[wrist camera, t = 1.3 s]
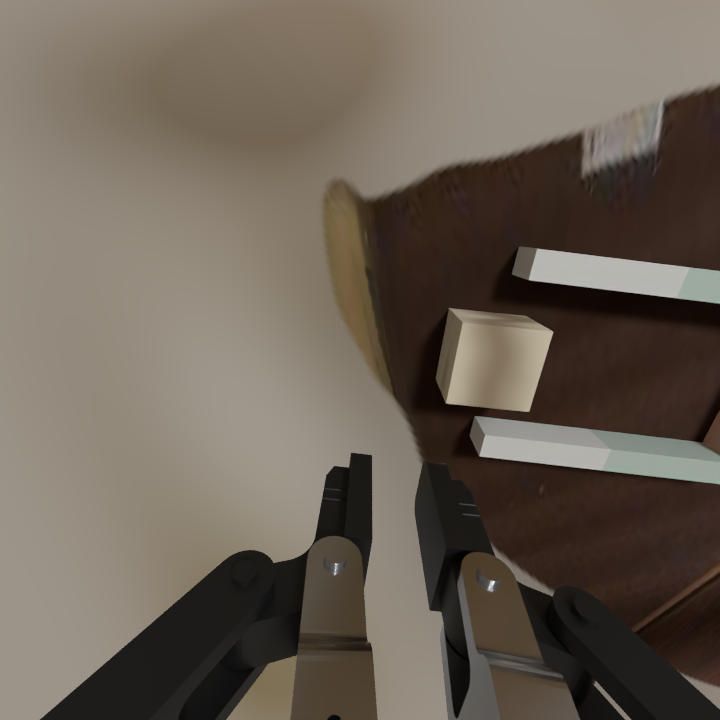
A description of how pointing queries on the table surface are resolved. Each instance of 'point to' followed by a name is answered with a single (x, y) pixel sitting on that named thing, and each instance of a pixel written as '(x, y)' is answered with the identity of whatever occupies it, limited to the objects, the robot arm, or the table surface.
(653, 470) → the channel
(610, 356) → the table surface
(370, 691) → the robot arm
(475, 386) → the maple block
